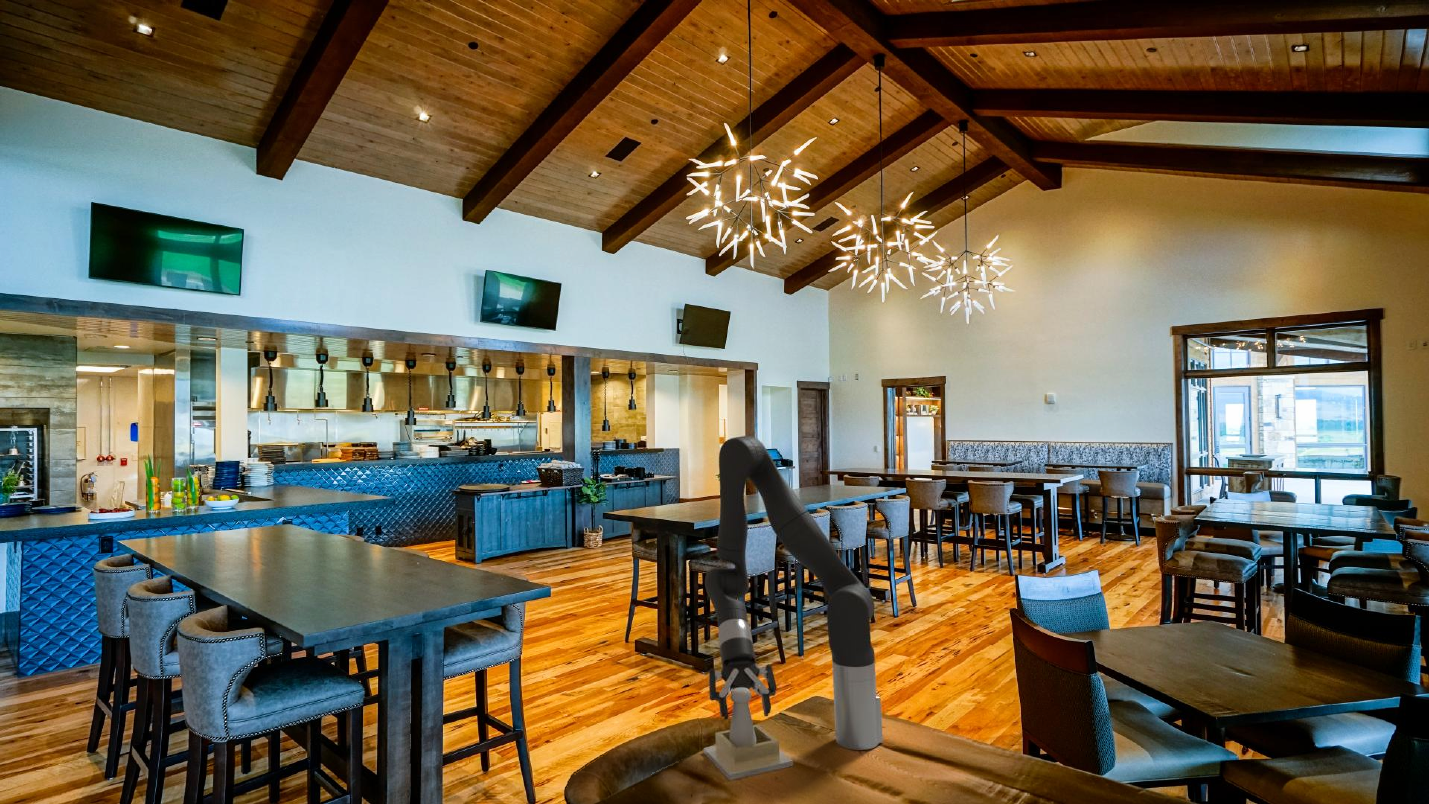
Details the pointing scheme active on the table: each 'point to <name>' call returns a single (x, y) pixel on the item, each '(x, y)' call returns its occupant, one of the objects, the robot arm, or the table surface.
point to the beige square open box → (747, 755)
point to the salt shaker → (741, 719)
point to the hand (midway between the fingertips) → (746, 716)
